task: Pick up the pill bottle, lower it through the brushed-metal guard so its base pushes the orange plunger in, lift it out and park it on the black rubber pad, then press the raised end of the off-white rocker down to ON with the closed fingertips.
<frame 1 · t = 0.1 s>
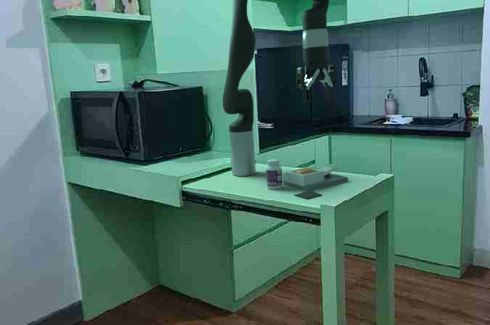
hand: (317, 101, 136), 29 cm above the table, fingers open, 8 cm apart
panel: (315, 183, 155), on the table
pill bottle: (275, 188, 153), on the table
rocker: (325, 170, 157), point 4 cm above the table, hinge at 12.0°
plunger: (304, 173, 152), point 4 cm above the table, slide at 0.0 cm
pad: (308, 195, 140), on the table
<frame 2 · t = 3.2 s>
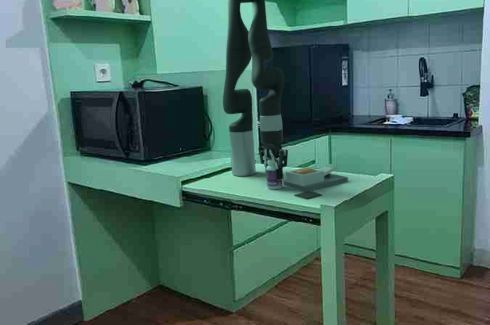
hand: (274, 177, 153), 4 cm above the table, fingers closed on pill bottle, 5 cm apart
pill bottle: (275, 188, 153), on the table, touching gripper
everything else where it was.
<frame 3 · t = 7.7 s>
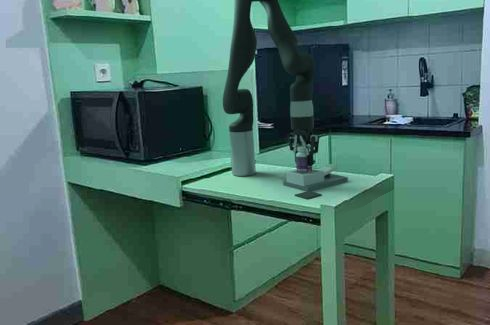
hand: (304, 164, 151), 7 cm above the table, fingers closed on pill bottle, 5 cm apart
pill bottle: (304, 175, 152), point 4 cm above the table, touching gripper, plunger
plunger: (305, 177, 152), point 3 cm above the table, slide at 1.6 cm, touching pill bottle
everything else where it was.
when the fingers open (5 cm above the table, at t = 12.1 s): pill bottle stays where it is, resting on pad.
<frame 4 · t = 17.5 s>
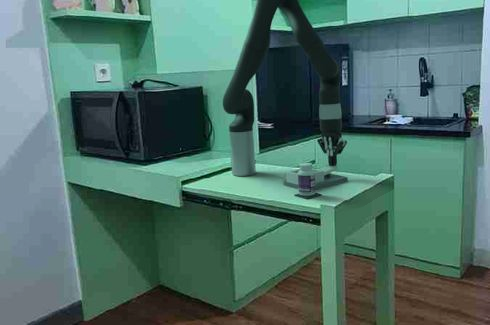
hand: (332, 165, 158), 5 cm above the table, fingers closed
pill bottle: (307, 194, 141), resting on pad
rocker: (325, 170, 157), point 4 cm above the table, hinge at 8.6°, touching gripper
plunger: (305, 177, 152), point 3 cm above the table, slide at 1.6 cm
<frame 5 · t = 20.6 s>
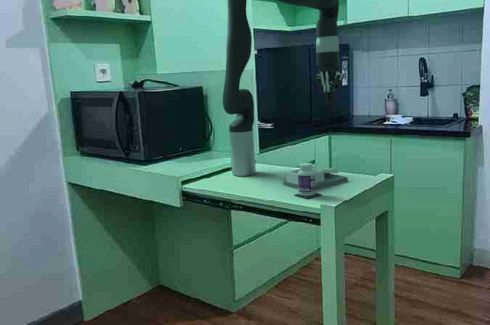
hand: (329, 102, 154), 27 cm above the table, fingers closed
rocker: (325, 170, 157), point 4 cm above the table, hinge at -10.7°
everything else where it was.
at the end: plunger slide at 1.6 cm; rocker at -11° (first picture: +12°); pill bottle inside the target area on the pad (0.3 cm from its centre), point 0.2 cm above the pad's base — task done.
